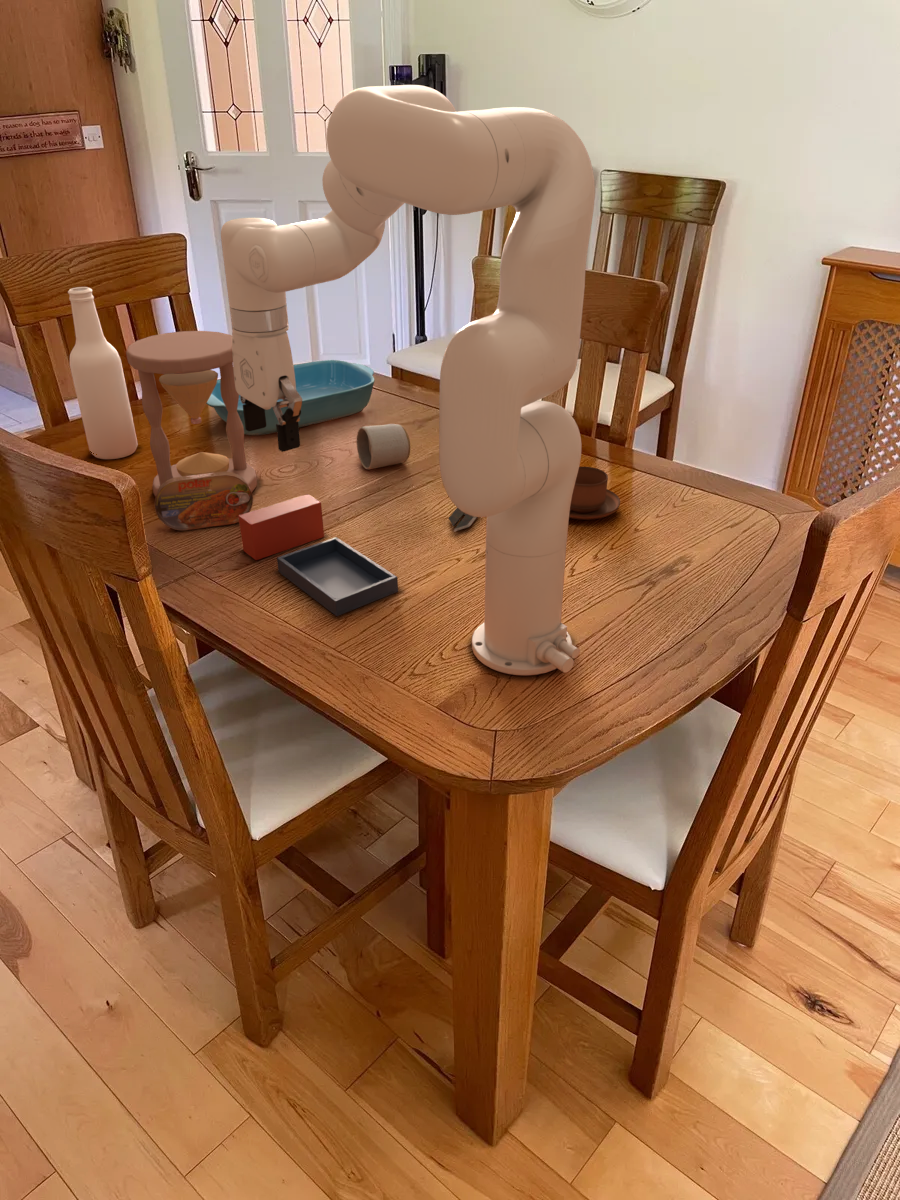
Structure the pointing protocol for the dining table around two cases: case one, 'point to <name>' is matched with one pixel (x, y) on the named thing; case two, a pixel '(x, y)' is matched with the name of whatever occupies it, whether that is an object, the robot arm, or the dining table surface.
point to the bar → (281, 526)
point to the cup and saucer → (592, 495)
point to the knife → (464, 522)
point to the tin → (203, 500)
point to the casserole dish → (315, 394)
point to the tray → (337, 575)
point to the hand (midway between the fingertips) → (272, 438)
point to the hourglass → (190, 397)
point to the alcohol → (99, 383)
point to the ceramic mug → (382, 445)
